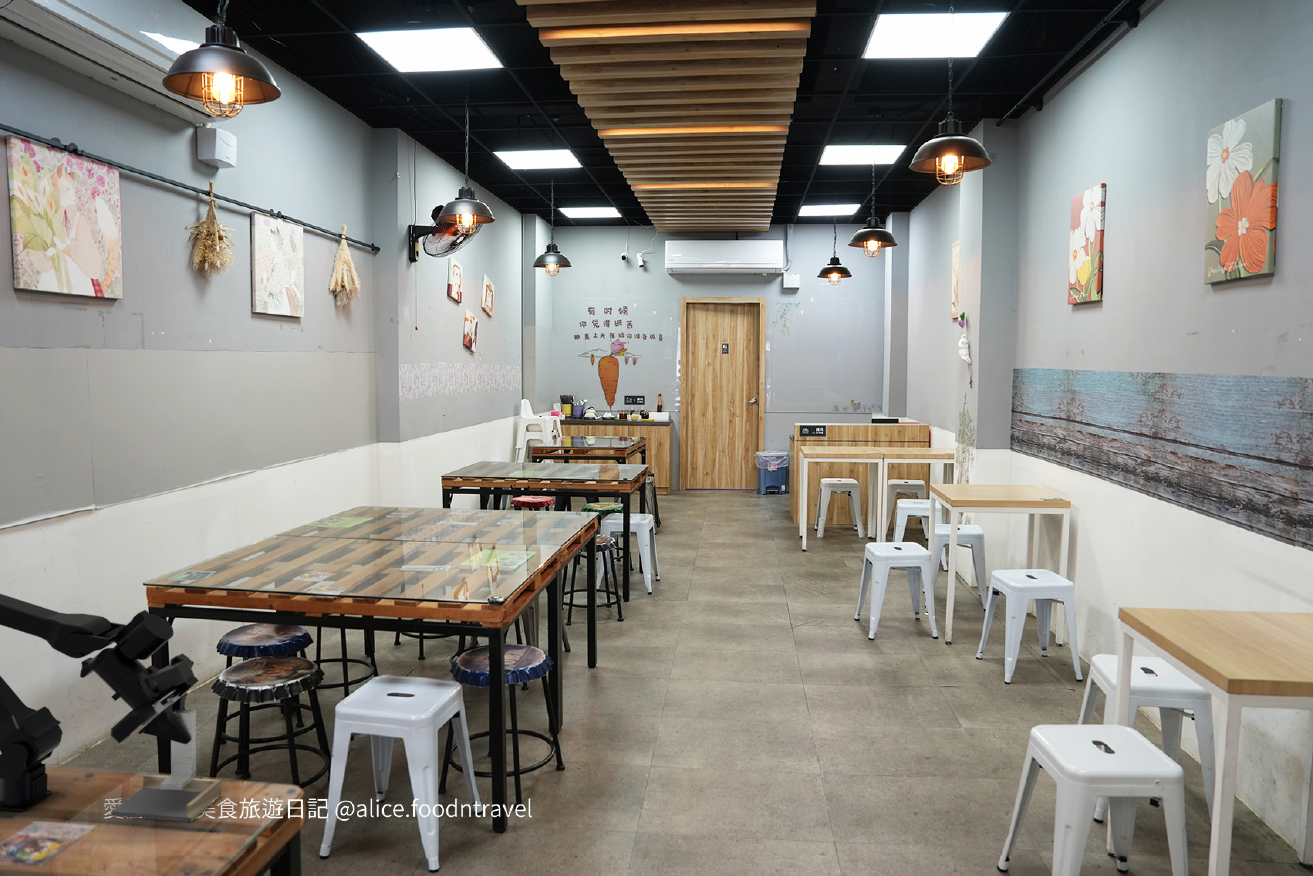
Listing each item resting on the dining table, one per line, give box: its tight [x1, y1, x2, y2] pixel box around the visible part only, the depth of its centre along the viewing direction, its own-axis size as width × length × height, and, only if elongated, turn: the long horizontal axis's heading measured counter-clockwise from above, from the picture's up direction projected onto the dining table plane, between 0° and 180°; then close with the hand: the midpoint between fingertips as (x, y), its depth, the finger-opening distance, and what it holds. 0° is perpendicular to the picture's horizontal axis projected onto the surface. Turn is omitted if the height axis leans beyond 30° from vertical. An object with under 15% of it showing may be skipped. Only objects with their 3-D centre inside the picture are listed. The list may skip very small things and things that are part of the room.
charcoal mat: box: [110, 787, 220, 823], centre depth 145 cm, size 14×9×1 cm, turn 88°
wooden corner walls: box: [142, 773, 223, 823], centre depth 145 cm, size 14×9×3 cm, turn 88°
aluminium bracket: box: [161, 709, 197, 790], centre depth 143 cm, size 4×5×12 cm
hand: (191, 740), depth 145 cm, fingers closed on aluminium bracket
